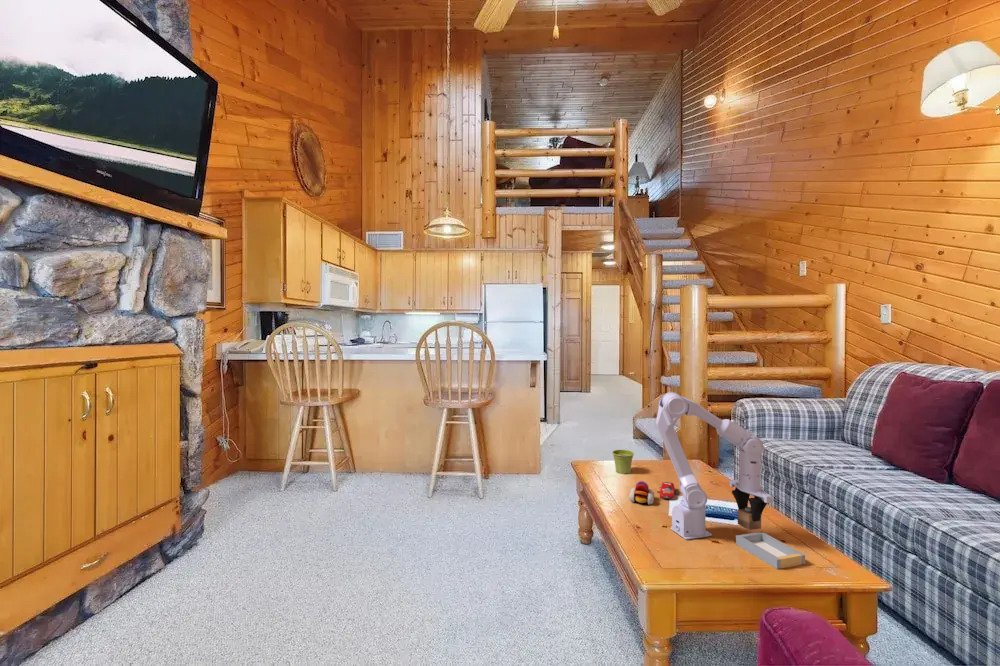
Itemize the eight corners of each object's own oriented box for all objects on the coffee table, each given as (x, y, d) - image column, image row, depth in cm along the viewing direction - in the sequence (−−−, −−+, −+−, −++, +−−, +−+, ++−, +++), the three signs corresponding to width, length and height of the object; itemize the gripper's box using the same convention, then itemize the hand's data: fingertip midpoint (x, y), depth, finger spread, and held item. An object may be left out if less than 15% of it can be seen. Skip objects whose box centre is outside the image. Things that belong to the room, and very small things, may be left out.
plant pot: (631, 476, 194) (631, 456, 194) (609, 473, 198) (609, 453, 198) (636, 470, 202) (636, 451, 202) (615, 467, 207) (615, 448, 206)
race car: (674, 502, 167) (674, 491, 166) (658, 500, 169) (658, 489, 169) (675, 489, 179) (675, 479, 179) (661, 488, 181) (661, 478, 181)
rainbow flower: (628, 504, 164) (628, 484, 164) (631, 495, 173) (631, 476, 173) (653, 507, 161) (652, 487, 161) (654, 498, 170) (654, 479, 170)
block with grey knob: (748, 530, 136) (749, 512, 136) (737, 523, 140) (737, 506, 140) (761, 528, 137) (761, 510, 137) (749, 522, 141) (749, 504, 141)
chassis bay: (776, 569, 120) (777, 559, 120) (735, 543, 134) (735, 535, 134) (805, 564, 123) (805, 555, 123) (761, 539, 137) (761, 531, 136)
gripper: (780, 480, 132) (780, 526, 133) (742, 465, 146) (742, 506, 147) (761, 482, 131) (760, 528, 131) (724, 467, 145) (723, 509, 145)
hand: (749, 517), depth 139 cm, fingers closed on block with grey knob, 4 cm apart
